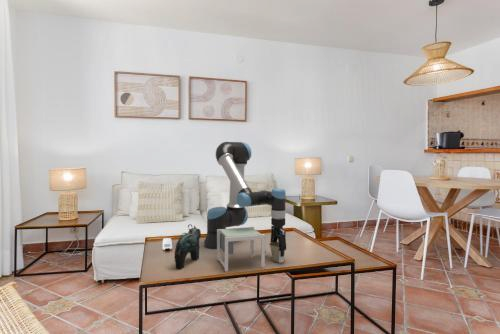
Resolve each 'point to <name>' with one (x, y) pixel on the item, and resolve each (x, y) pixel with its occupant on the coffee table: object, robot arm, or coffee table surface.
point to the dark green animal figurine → (187, 246)
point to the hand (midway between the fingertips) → (277, 259)
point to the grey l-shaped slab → (232, 234)
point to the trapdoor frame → (240, 238)
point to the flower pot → (275, 251)
